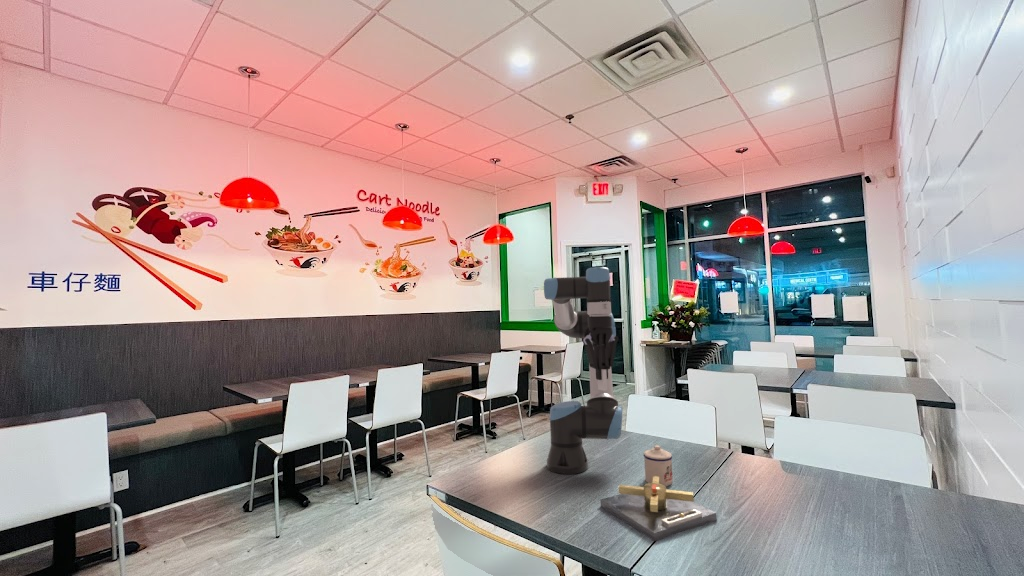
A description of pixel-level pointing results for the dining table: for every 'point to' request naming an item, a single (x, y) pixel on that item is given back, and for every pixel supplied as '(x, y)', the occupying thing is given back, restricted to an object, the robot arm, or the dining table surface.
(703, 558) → the dining table surface
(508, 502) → the dining table surface
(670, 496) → the capstan
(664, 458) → the teacup with lid
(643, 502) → the stand
